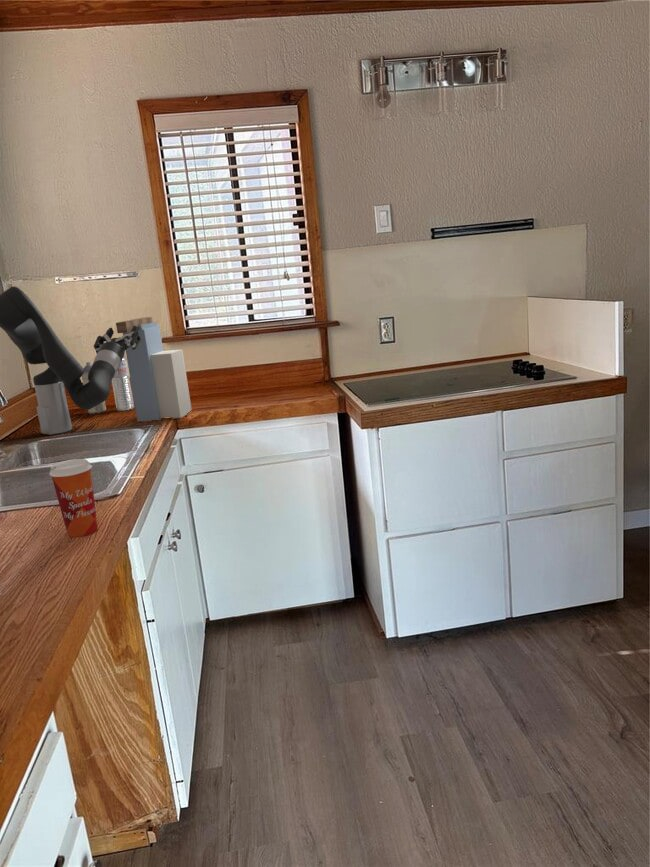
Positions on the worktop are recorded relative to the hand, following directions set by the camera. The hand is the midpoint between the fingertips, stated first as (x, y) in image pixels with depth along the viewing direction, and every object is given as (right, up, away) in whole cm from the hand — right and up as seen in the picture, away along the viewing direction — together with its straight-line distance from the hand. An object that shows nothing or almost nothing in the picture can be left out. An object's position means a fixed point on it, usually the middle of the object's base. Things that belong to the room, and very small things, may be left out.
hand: (123, 328), depth 211 cm
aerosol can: (-24, -26, +42) cm, 55 cm away
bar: (+1, +1, +9) cm, 10 cm away
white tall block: (+13, -28, +20) cm, 37 cm away
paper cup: (+19, -54, -86) cm, 104 cm away
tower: (+5, -29, +21) cm, 36 cm away
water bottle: (-12, -25, +42) cm, 50 cm away
